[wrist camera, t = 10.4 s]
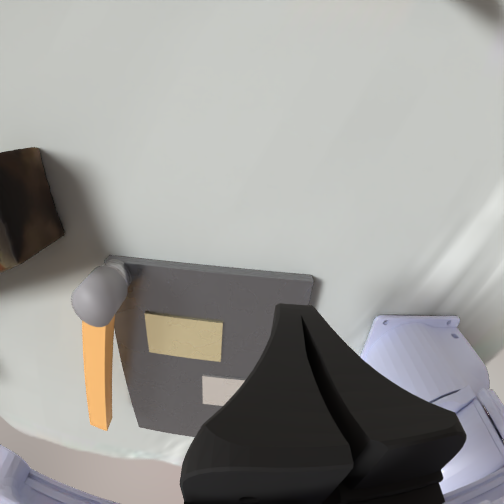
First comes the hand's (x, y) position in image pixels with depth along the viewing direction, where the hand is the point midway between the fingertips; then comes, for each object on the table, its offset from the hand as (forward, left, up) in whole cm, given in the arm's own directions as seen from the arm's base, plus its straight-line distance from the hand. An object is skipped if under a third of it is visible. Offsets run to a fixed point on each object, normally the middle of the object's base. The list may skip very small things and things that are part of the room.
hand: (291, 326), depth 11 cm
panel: (+5, +14, -10) cm, 18 cm away
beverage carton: (+26, +1, -11) cm, 28 cm away
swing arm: (+13, +11, -8) cm, 18 cm away
